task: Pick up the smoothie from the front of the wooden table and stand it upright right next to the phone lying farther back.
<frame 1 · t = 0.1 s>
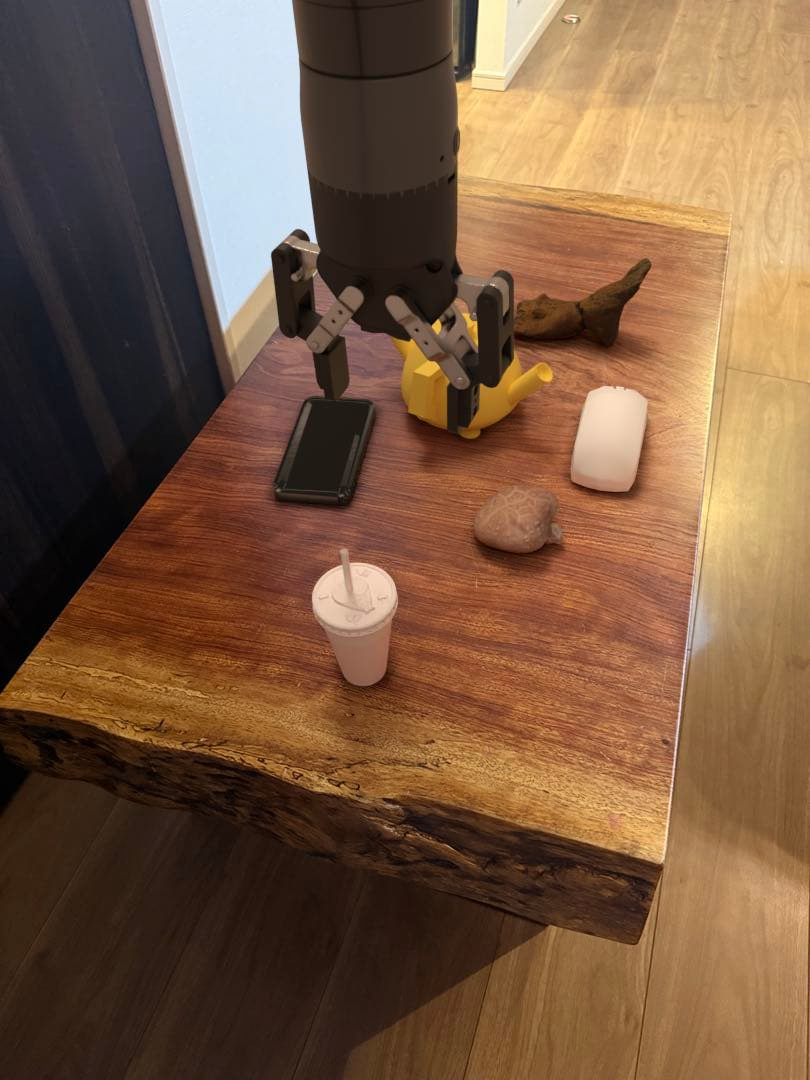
hand: (397, 409, 53), 24 cm above the table, tool pointing down, fingers open, 8 cm apart
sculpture: (566, 338, 99), on the table
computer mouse: (607, 452, 86), on the table
smoothie: (364, 668, 69), on the table
mushroom: (517, 535, 78), on the table
phone: (327, 452, 87), on the table
teapot: (461, 410, 91), on the table
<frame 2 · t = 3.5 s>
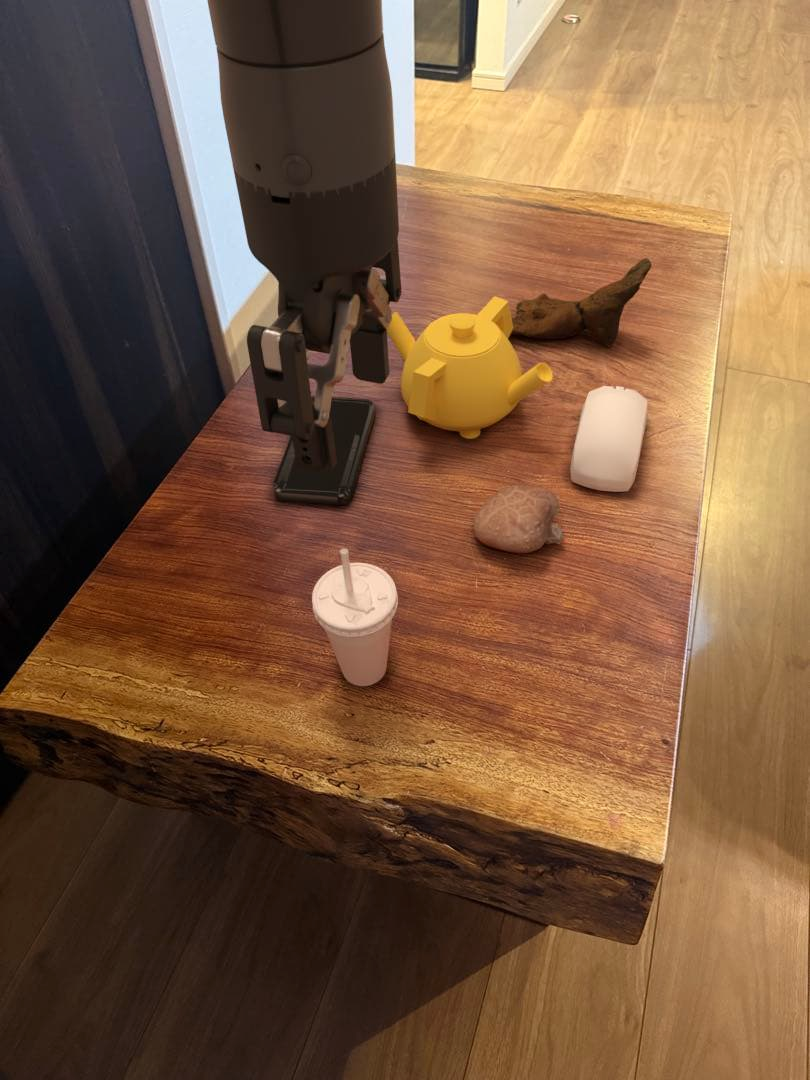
hand: (345, 421, 51), 26 cm above the table, tool pointing down, fingers open, 8 cm apart
nothing on the table moved.
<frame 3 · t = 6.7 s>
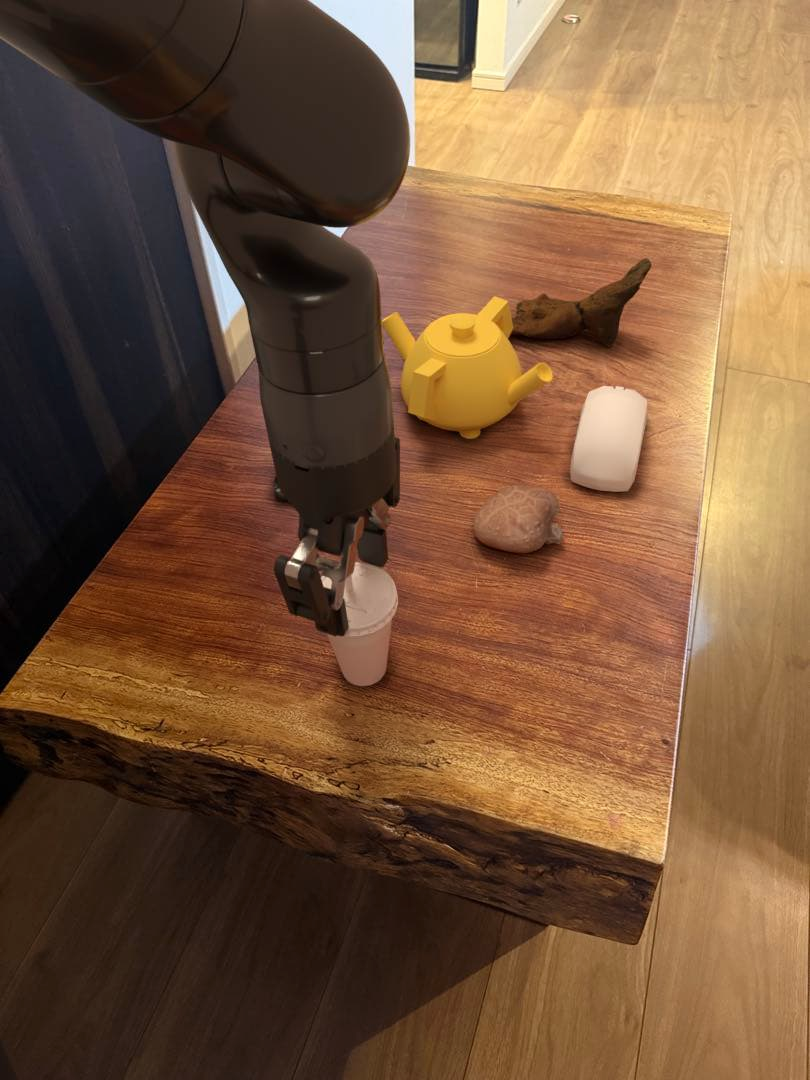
hand: (354, 594, 62), 10 cm above the table, tool pointing down, fingers closed on smoothie, 6 cm apart
smoothie: (364, 668, 69), on the table, touching gripper
everything else where it was.
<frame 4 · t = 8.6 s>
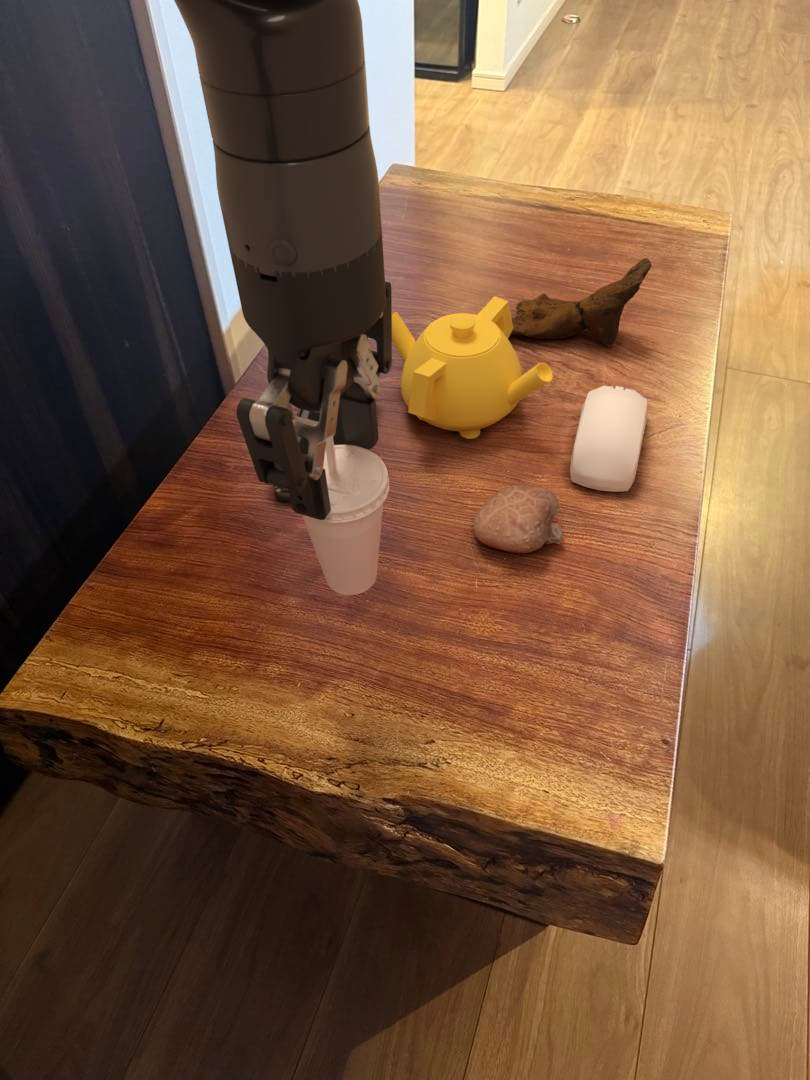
hand: (337, 476, 53), 22 cm above the table, tool pointing down, fingers closed on smoothie, 6 cm apart
smoothie: (351, 576, 60), point 12 cm above the table, touching gripper
everything else where it was.
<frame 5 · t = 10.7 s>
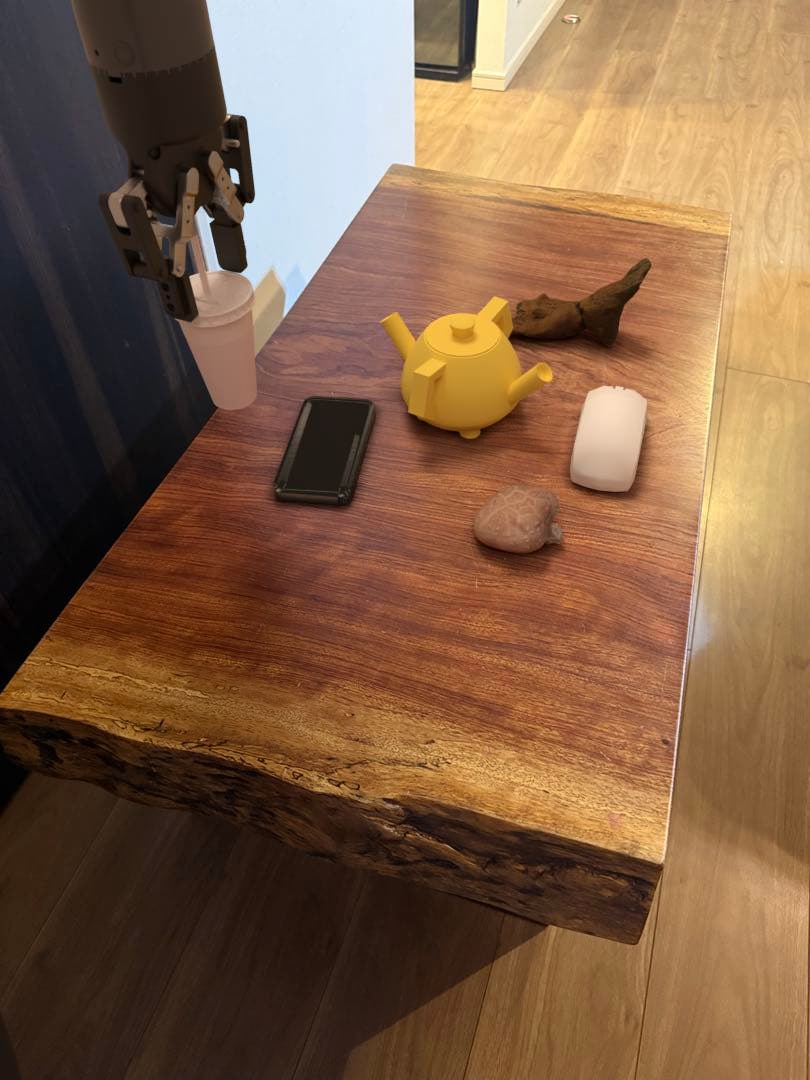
hand: (209, 292, 62), 25 cm above the table, tool pointing down, fingers closed on smoothie, 6 cm apart
smoothie: (235, 397, 70), point 15 cm above the table, touching gripper
everything else where it was.
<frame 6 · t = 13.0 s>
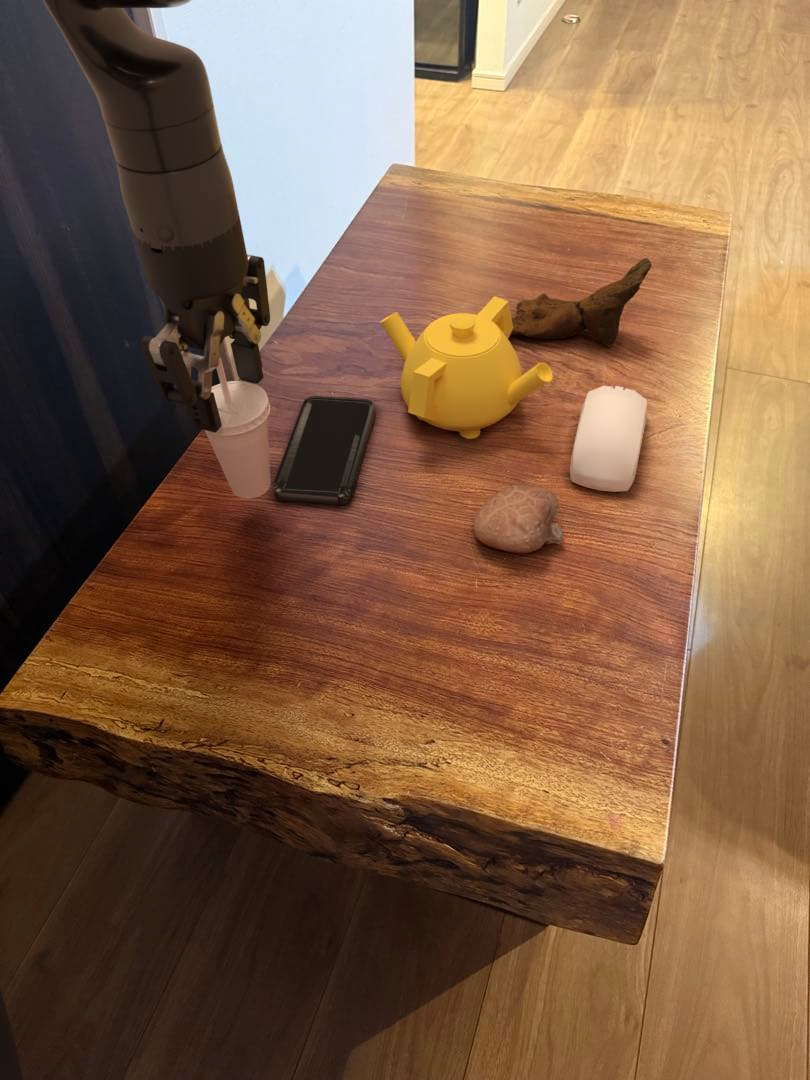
hand: (230, 402, 71), 14 cm above the table, tool pointing down, fingers closed on smoothie, 6 cm apart
smoothie: (251, 486, 79), point 4 cm above the table, touching gripper
everything else where it was.
when the fingers open (10 cm above the table, at t = 14.6 s): smoothie stays where it is, on the table.
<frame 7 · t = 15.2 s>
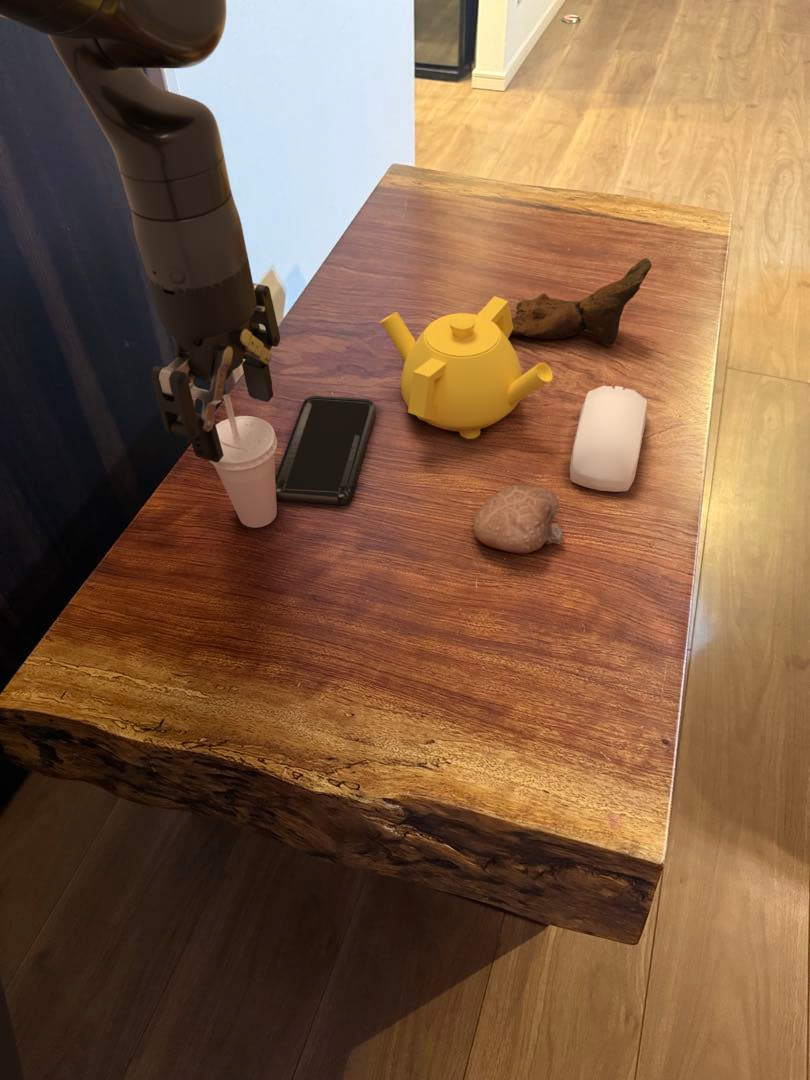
hand: (237, 427, 74), 11 cm above the table, tool pointing down, fingers open, 8 cm apart
smoothie: (258, 515, 82), on the table
everything else where it was.
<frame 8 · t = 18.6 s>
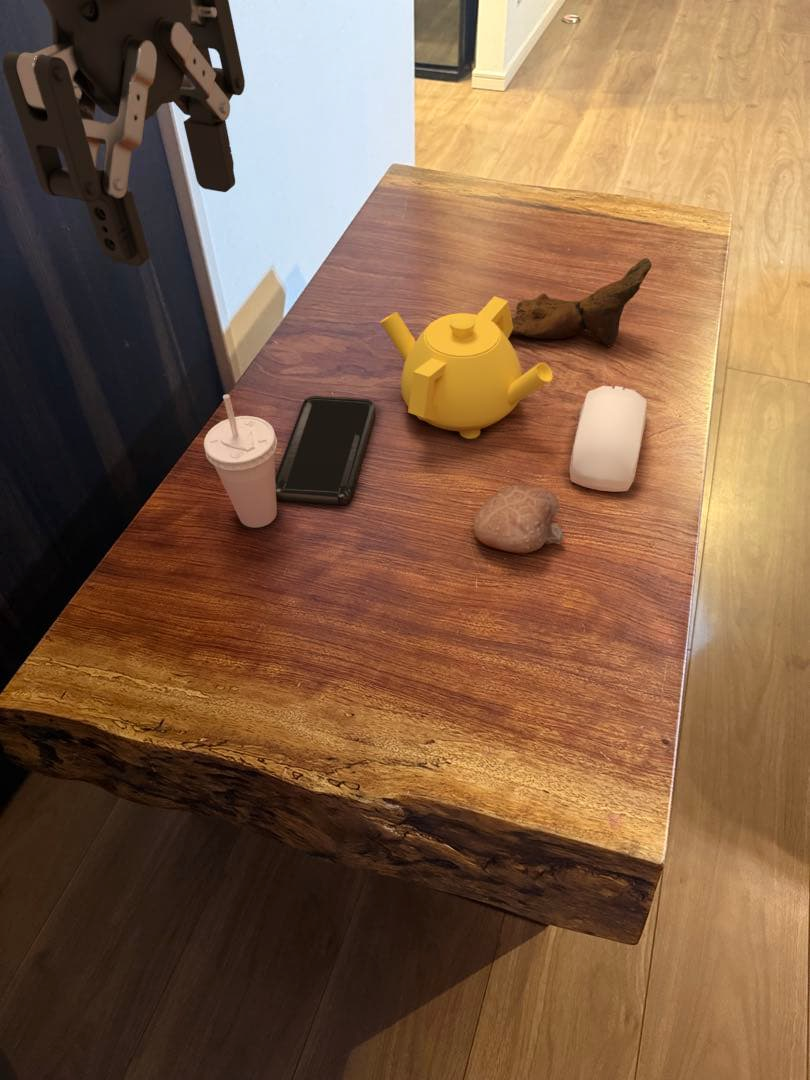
hand: (176, 222, 46), 36 cm above the table, tool pointing down, fingers open, 8 cm apart
nothing on the table moved.
at the end: smoothie inside the target area on the table beside the phone (0.4 cm from its centre), on the table; smoothie tilted 0°; phone moved 0.0 cm from its start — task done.
